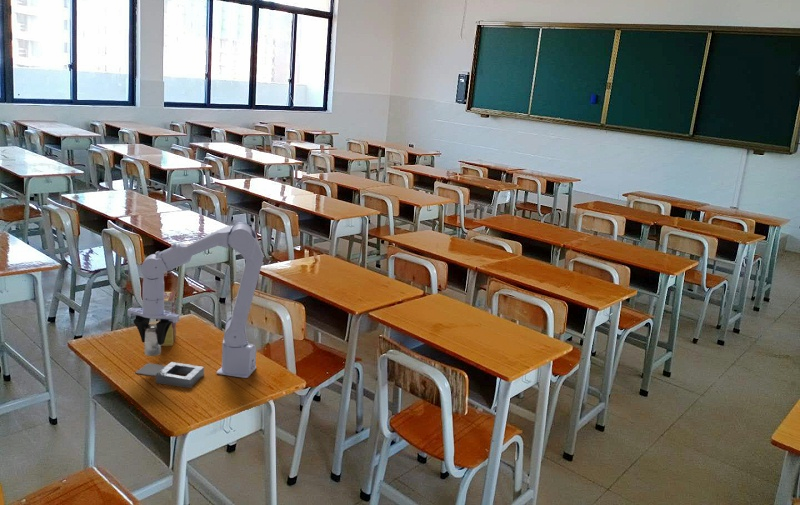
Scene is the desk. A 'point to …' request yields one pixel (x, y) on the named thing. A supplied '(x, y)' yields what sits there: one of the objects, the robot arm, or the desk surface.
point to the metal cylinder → (152, 340)
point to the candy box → (171, 307)
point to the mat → (150, 369)
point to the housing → (183, 381)
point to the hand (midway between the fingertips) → (153, 342)
